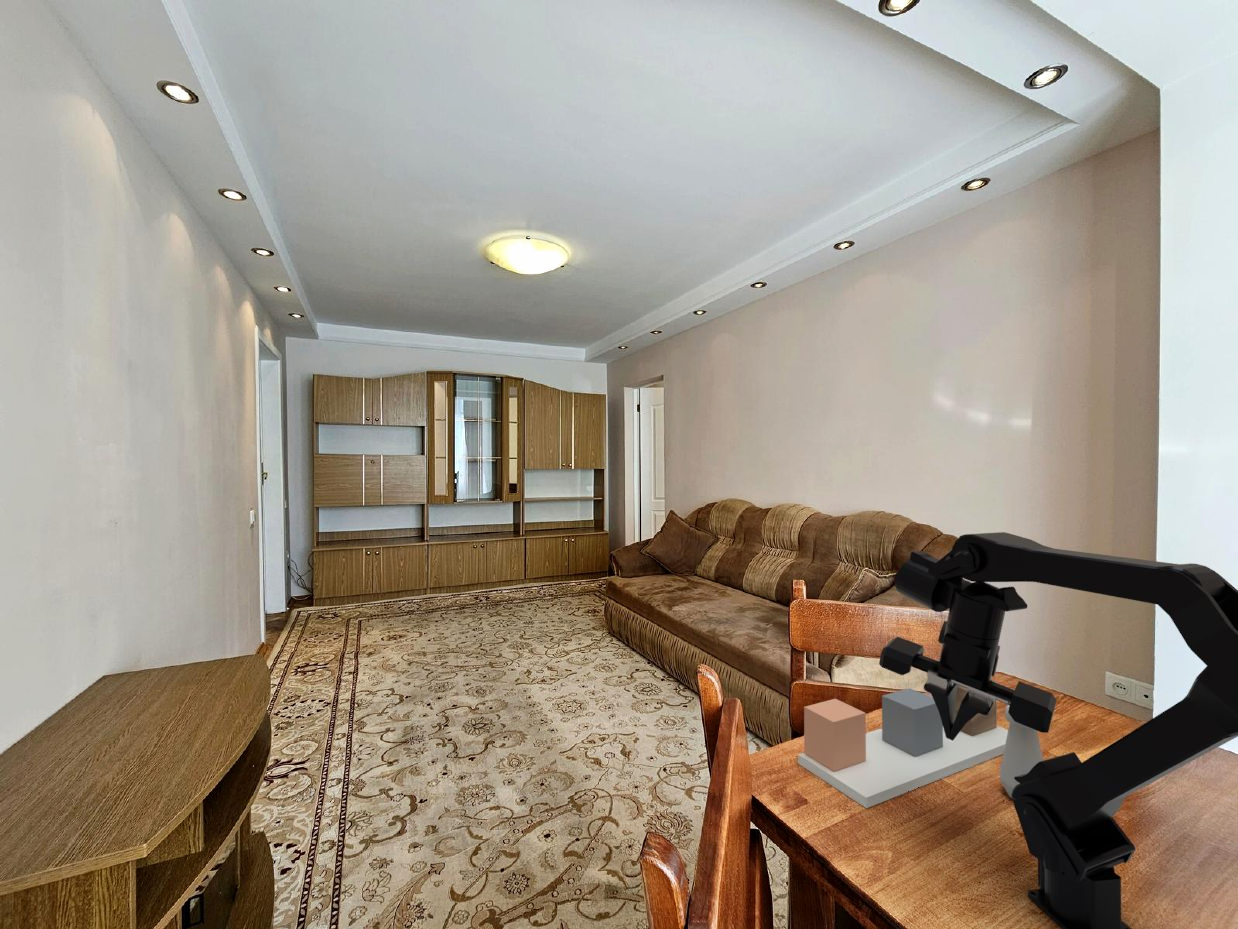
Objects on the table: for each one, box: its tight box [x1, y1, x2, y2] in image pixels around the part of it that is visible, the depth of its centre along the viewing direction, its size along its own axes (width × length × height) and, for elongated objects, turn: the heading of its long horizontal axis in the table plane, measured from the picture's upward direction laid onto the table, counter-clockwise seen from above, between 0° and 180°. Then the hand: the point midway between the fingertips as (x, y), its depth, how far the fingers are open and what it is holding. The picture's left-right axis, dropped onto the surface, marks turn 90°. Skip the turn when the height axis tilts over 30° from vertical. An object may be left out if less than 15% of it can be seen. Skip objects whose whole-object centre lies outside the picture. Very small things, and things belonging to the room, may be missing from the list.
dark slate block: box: [881, 687, 943, 756], centre depth 92 cm, size 6×7×8 cm
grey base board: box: [797, 725, 1008, 809], centre depth 91 cm, size 39×13×2 cm, turn 116°
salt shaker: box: [998, 704, 1044, 800], centre depth 80 cm, size 6×6×13 cm
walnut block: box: [954, 685, 998, 736], centre depth 98 cm, size 6×7×8 cm
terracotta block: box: [803, 698, 867, 771], centre depth 88 cm, size 6×7×8 cm
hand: (950, 738), depth 72 cm, fingers closed
